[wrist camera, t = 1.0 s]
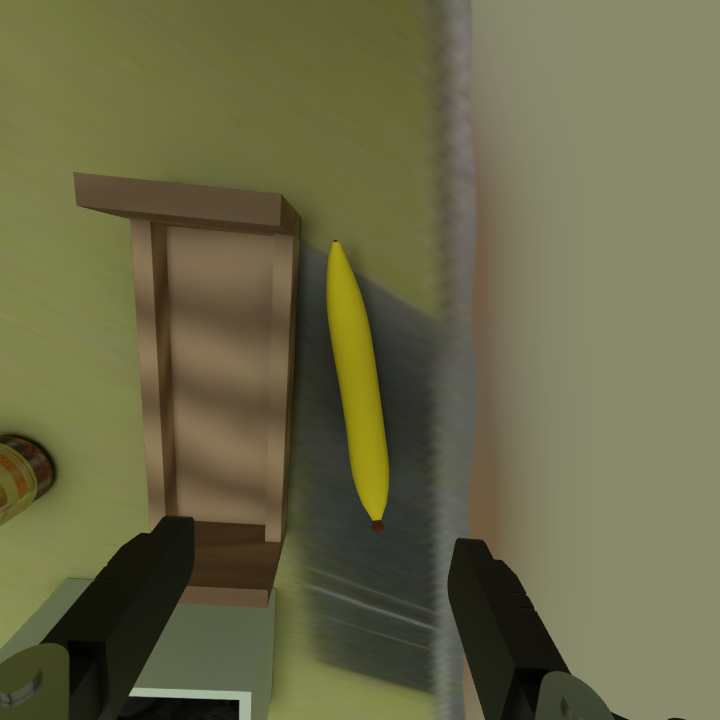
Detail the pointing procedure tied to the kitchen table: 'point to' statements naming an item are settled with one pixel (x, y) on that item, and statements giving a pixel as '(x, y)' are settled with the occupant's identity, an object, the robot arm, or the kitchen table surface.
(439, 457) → the kitchen table surface
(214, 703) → the film camera
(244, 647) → the camera caddy
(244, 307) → the cradle
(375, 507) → the banana
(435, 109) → the kitchen table surface
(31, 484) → the sauce bottle
